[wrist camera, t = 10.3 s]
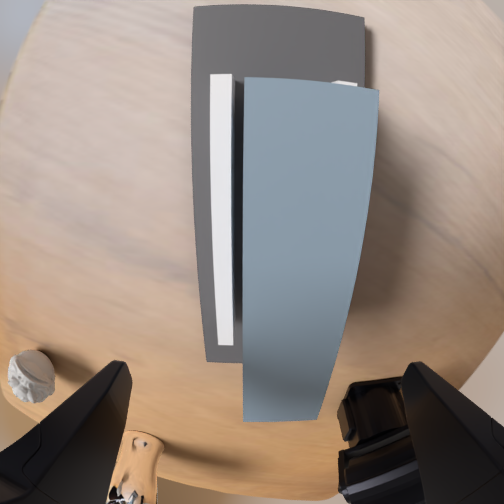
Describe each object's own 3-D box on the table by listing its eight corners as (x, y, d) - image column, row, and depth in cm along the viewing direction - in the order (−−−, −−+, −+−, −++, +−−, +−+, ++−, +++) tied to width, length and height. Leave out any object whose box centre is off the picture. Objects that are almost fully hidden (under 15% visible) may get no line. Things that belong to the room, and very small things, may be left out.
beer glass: (171, 439, 33) (155, 537, 20) (163, 455, 36) (149, 539, 23) (121, 422, 32) (94, 519, 19) (119, 441, 35) (97, 524, 21)
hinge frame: (357, 22, 14) (383, 4, 10) (321, 352, 25) (330, 388, 22) (197, 12, 14) (183, -11, 10) (208, 352, 25) (202, 388, 21)
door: (322, 101, 15) (398, 94, 7) (304, 306, 22) (328, 418, 13) (248, 96, 15) (244, 77, 7) (245, 306, 21) (243, 421, 13)
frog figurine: (72, 358, 27) (47, 406, 20) (58, 382, 29) (37, 423, 23) (29, 325, 25) (-3, 368, 19) (20, 353, 27) (-5, 391, 21)
